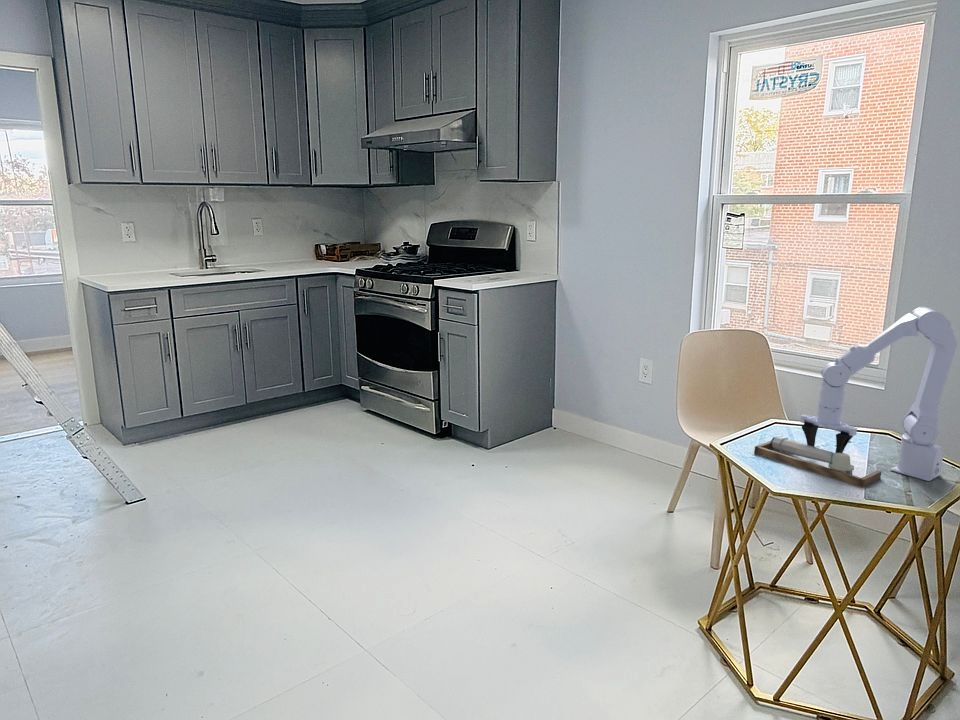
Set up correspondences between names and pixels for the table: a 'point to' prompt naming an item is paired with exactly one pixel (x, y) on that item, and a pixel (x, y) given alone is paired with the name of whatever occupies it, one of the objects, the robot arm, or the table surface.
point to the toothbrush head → (813, 454)
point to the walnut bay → (816, 467)
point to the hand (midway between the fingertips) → (824, 453)
